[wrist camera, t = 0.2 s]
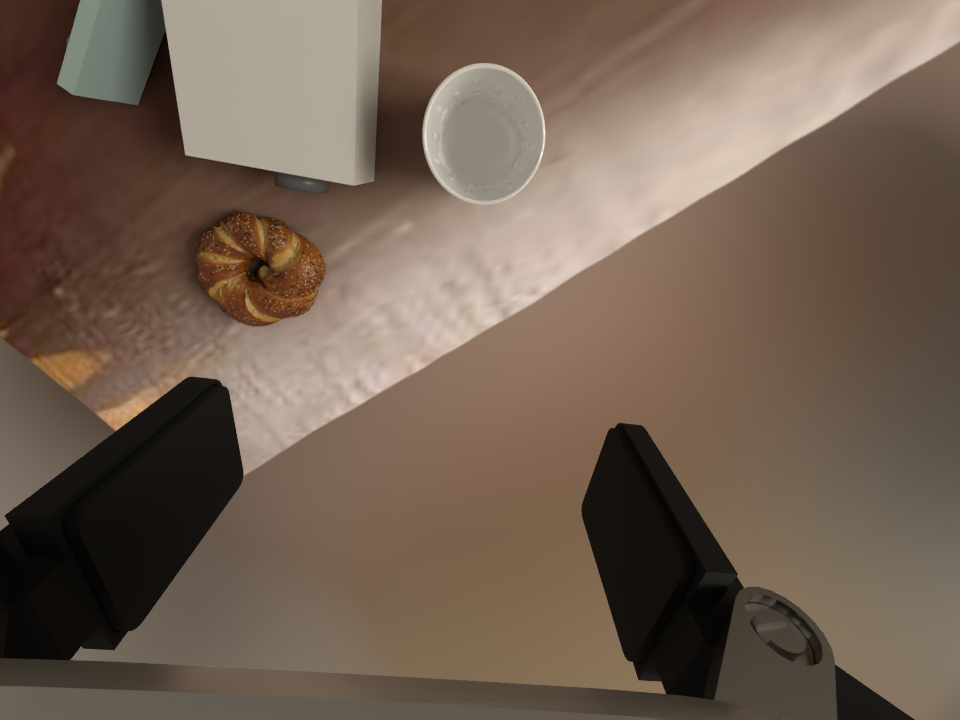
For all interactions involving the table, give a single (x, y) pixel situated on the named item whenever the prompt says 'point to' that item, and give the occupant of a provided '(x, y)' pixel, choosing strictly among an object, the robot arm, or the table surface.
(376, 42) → the case
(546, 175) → the table surface
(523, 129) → the white cup
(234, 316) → the pretzel
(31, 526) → the robot arm
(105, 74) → the door
